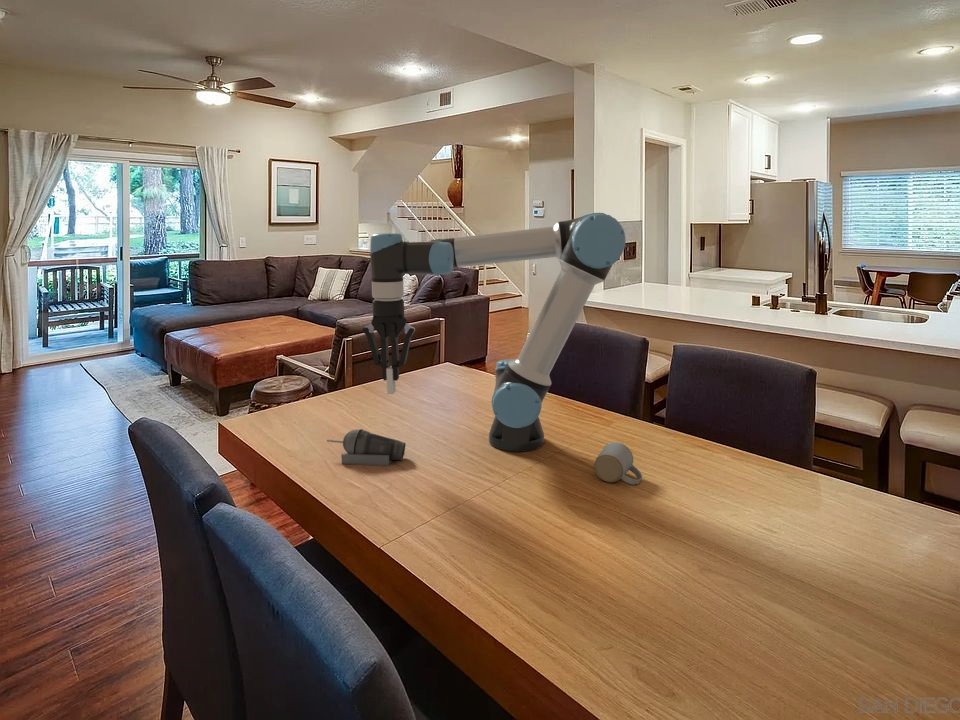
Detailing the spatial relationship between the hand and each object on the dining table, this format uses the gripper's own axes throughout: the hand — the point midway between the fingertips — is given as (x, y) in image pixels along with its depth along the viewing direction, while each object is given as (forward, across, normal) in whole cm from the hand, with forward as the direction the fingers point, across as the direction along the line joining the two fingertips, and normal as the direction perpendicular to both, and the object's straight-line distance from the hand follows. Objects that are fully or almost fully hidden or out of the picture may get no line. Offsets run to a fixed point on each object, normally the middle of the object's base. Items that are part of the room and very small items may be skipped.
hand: (391, 392), depth 146 cm
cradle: (+17, +6, 0) cm, 18 cm away
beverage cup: (+15, -3, +1) cm, 16 cm away
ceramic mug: (+18, -56, +7) cm, 59 cm away
